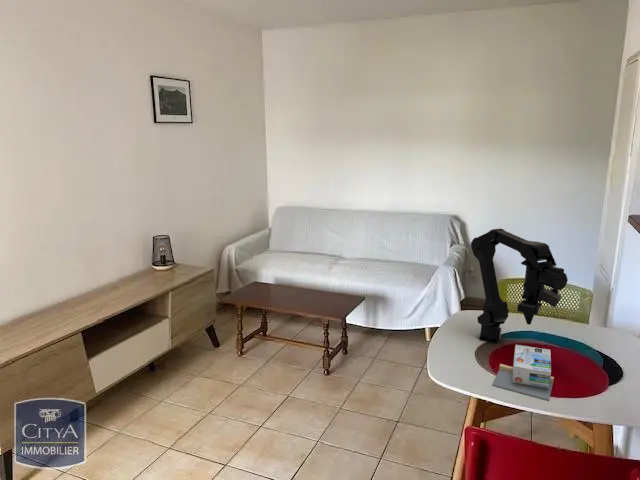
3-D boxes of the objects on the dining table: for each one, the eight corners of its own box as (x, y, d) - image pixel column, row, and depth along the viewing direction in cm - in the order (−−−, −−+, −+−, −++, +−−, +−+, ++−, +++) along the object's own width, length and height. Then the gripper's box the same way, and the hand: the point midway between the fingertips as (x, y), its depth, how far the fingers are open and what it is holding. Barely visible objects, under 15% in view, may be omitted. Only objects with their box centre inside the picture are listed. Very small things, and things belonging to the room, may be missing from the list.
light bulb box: (550, 349, 149) (551, 372, 140) (549, 365, 152) (549, 389, 143) (514, 344, 153) (513, 366, 145) (513, 360, 156) (511, 382, 148)
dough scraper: (492, 385, 146) (492, 380, 146) (499, 369, 156) (500, 363, 156) (548, 400, 138) (549, 395, 138) (553, 382, 148) (553, 376, 148)
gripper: (558, 293, 145) (551, 340, 148) (563, 277, 160) (557, 319, 164) (519, 286, 150) (514, 332, 154) (528, 271, 166) (523, 313, 170)
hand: (528, 324), depth 160 cm, fingers closed
